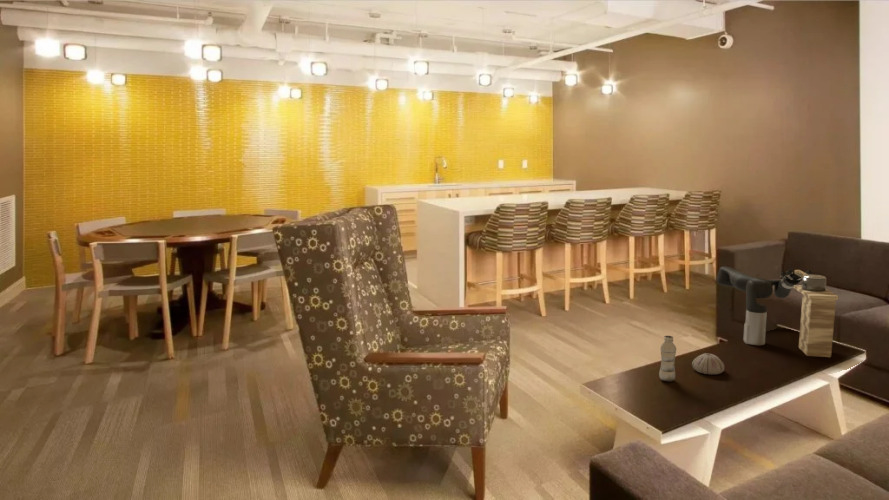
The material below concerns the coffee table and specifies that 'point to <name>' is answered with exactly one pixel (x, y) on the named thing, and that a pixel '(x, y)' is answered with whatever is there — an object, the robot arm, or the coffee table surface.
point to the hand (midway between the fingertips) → (800, 271)
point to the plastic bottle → (667, 359)
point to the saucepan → (812, 282)
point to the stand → (817, 322)
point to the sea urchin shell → (708, 364)
